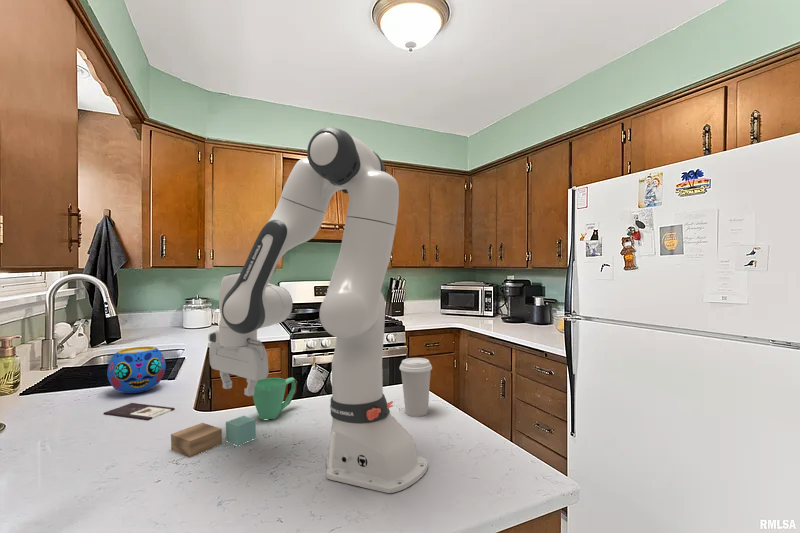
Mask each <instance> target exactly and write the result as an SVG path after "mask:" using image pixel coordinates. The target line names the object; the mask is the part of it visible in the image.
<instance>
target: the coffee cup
mask: <svg viewBox="0 0 800 533" xmlns="http://www.w3.org/2000/svg"><path fill="white" fill-rule="evenodd" d="M399 370H400V373H401V382H402V383H401V384H402V391H403V392H402V393H403V400H404V401H403V402H404V410H405V414H406V416H409V417H413V418H414V417H415V418H419V417H424V416H427V415H428V413H429V403H430V402H429V400H430V386H431V385H430V383H431V371H432V370H433V366H432V364H431V361H430V359H428V358H424V357H423V358H422V357H409V358H405V359H402V360H401V363H400V365H399Z"/></svg>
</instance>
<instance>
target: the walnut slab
mask: <svg viewBox="0 0 800 533" xmlns="http://www.w3.org/2000/svg"><path fill="white" fill-rule="evenodd" d="M222 430H223V429H222V428H220V427H217V426H214V425H212V424H207V423H204V422H200V423H198V424H195V425H192V426H189V427H186V428H184V429H181V430H178V431H175V432H173V433H171V434H170V447H171V451H174V452H176V453H178V454H181V455H184V456H186V457H187V458H193V457H195V456H197V455H199V453H200V454H202V453H204V452H206V450H207V451H209V450H211V449H213V447H214V448H216V447H218V446H220V444H221V445H223V431H222ZM217 445H218V446H217ZM215 446H216V447H215ZM201 452H202V453H201Z"/></svg>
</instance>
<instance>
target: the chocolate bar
mask: <svg viewBox="0 0 800 533" xmlns="http://www.w3.org/2000/svg"><path fill="white" fill-rule="evenodd" d="M175 410H176V408H175V407H170V406H163V405H162V406H160V405H154V404H145V403H144V404H143V403H136V402H131V403H128V404H125V405H121V406H119V407H117V408H113V409H110V410H107V411H103V414H102V415H104V416H112V417H119V418H127V419H133V420H134V419H135V420H142V421H150V420H153V419H156V418H158V417H161V416H162V415H165V414H168V413H170V412H173V411H175Z"/></svg>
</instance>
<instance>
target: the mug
mask: <svg viewBox="0 0 800 533" xmlns="http://www.w3.org/2000/svg"><path fill="white" fill-rule="evenodd" d="M288 384H291V389H290V390H289V393H288V394H287V396H286V398H285V392H286V388H287V386H288ZM297 391H298V381H297V380H296V379H295V378H294V377H288V378H286V379H284V378H282V377H269V378H268V377H266V378H265V379H261V380H258V382H257V384H256V386H255V388H254V395H253V396H252V399H253V404H254V406H255V409H256V411H257V413H258V417H259V418H260V420H261V419H273V418H276V417H277V418H278V417H279V415H280V413H281V412H283V410H284V409H286V408H287V407H288V406H289V405H290V404H291V402H292V400H293V398H294V397H295V395H296V393H297ZM284 398H285V400H284ZM277 418H276V419H277ZM273 420H274V419H273Z"/></svg>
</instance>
